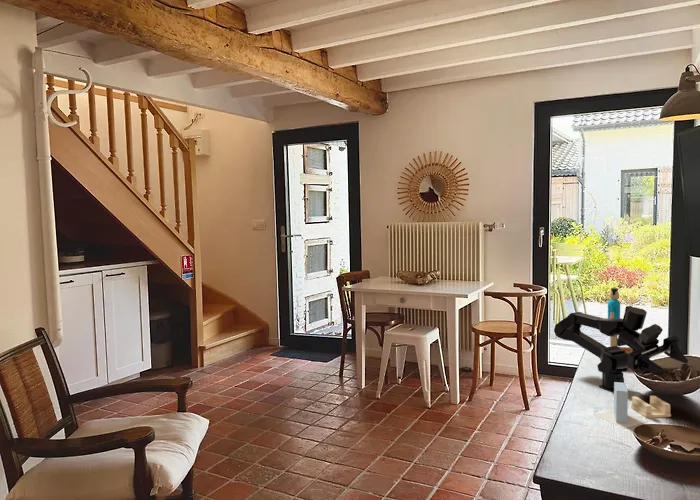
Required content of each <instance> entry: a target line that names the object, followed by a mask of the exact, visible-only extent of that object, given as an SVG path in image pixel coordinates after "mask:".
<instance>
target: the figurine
mask: <svg viewBox="0 0 700 500" xmlns="http://www.w3.org/2000/svg"><path fill="white" fill-rule="evenodd" d="M609 297H610V300H609V301H608V302H607V318H621V301H619V298H620V292H619V288H616V287H612V288H610V292H609ZM609 338H610V339H609V340H610V341H609V342H610V343H609V345H610V346H609V347H611V346H617V340H616V339H618V335H616V336H609Z"/></svg>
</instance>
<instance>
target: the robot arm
mask: <svg viewBox="0 0 700 500" xmlns="http://www.w3.org/2000/svg"><path fill="white" fill-rule="evenodd" d="M647 313H648V312H647V311H646V310H645V309H644V308H639V307H635V306H632V305H626V306H625V309H624V313H623V317H622V318H621V317H620V318H608V317H607V318H604V317H600V316H596V315H591V314H588V313H584V312H582V311H575V312H570V313H569V314H568V315H567V316H566V317H565V318H563V319H561V320H560V321H559V322H558V323H556V324H555V326H554V329H553V331H554V332H553V333H554V334H555V336H556V338H559V339H561V340H563V341H564V340H565V341H571V342H573V343H574V344H576V345H578V346H579V347H581V348H582V349H584V350H586V351H587V352H590V353H591V354H593V355H594V356H596V357H597V358H598V359H599V360H600V362H599V363H598V364H597V365H596V366H597V370H598V372H600V373H602V375H601V384H599V385H598V387H599V388H601V389H603V390H606V391H609V392H611V393H614V382H621V383H625V377H624V372H625V373H626V372H627V373H628V370H632V371H633V372H635V371H639V372H640V371H643V372H652V373H658V374H665V370H664V369H663V368H662V367H661V366H659V365H658V364H657V363H655V362H654V361H653V360H651V359H652V358H654V357H656V356H659V355H662V354H664V355H666V356H669V358H670V359H673V360H675V361H679V362H681V363H684V364H689V360H688V359H687V357H686V356H685V354H683V352H682V351H681V349H680V344H681V343H680V342H681V338H680V337H678V336H676V335H675V334H673V335H670V336H669V337H666V338H663V342H662V344H661V345H659V341H660V340H659V339H658V338H659V336H660V335H661V333H662V332H663V328H662V327H661V325H658V324H656V323H654V324H651V325H650V326H648V327H645V328H644V329H643V327H644V323H645V321H646V317H647ZM582 326H584V327H587V328H588V327H589V328H592V329H595V330H597V331H599V332H600V333H601V334H602V335H605V336H606V337H610V336H616V335H617V339H616V340H617V346H611V347H610V346H606V345H605V344H603V343H601V342H599V341H597V340H596V339H594V338H593V337H590V336H589V335H588V334H586V333H584V332H582V331H581V328H582ZM639 330H641V332H638V331H639ZM625 346H626V347H630V348H632V349H633V351H632V352H631V353H628V354H627V353H626V352H625V351H626V350H622V349H621V348H619V347H625ZM628 367H629V368H630V369H628Z"/></svg>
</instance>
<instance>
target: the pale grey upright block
mask: <svg viewBox="0 0 700 500" xmlns="http://www.w3.org/2000/svg"><path fill="white" fill-rule="evenodd" d="M628 391H629V390H628V389H627V385H626V382H624V383H621V382H614V392H613V410H614V415H615V420H616V423H623V424H627V413H629V412H628V409H629V408H628V407H629V405H628V403H629V400H628V399H629V392H628Z"/></svg>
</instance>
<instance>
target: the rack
mask: <svg viewBox="0 0 700 500" xmlns="http://www.w3.org/2000/svg"><path fill="white" fill-rule="evenodd" d="M630 409H632V410H633V411H635V412H636V413H637V414H639V415H641V416H642V417H643V418H645V419H649V418H650V419H651V418H669V417H672V414H671V404H670V403H668V402H666V401H665V400H663V399H661V398H659V397H658V396H656V395H650V396H649V403H648V402H646V401H645V400H643V399H641V398H640V397H638V396H631V405H630Z"/></svg>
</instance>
